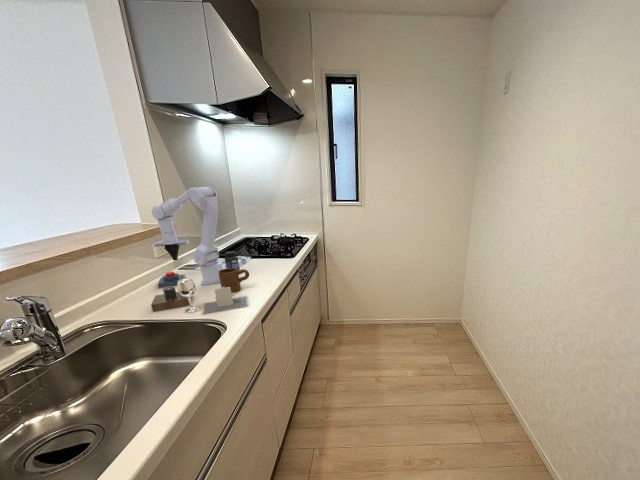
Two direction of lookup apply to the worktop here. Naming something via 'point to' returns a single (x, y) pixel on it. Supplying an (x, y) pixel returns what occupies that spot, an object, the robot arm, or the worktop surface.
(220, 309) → the architectural model
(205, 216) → the robot arm
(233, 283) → the mug
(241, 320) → the worktop surface
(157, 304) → the panel
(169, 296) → the knob
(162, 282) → the button box
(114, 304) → the worktop surface
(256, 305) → the worktop surface
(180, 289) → the wineglass
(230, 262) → the pill bottle
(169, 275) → the button
